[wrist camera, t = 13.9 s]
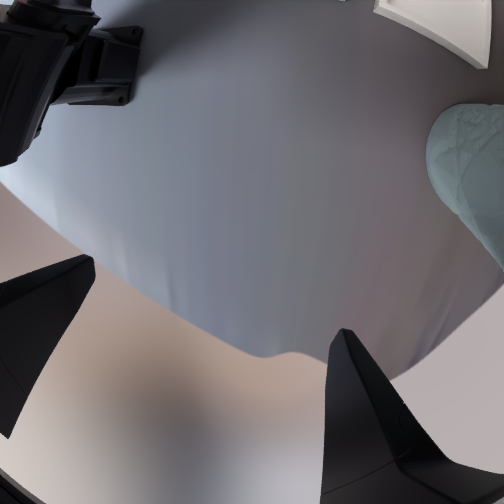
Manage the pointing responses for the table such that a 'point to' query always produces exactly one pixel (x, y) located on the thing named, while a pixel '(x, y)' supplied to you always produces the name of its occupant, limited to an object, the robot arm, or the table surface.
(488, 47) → the dish
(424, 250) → the table surface
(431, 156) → the teal patterned cup
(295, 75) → the table surface
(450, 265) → the table surface
